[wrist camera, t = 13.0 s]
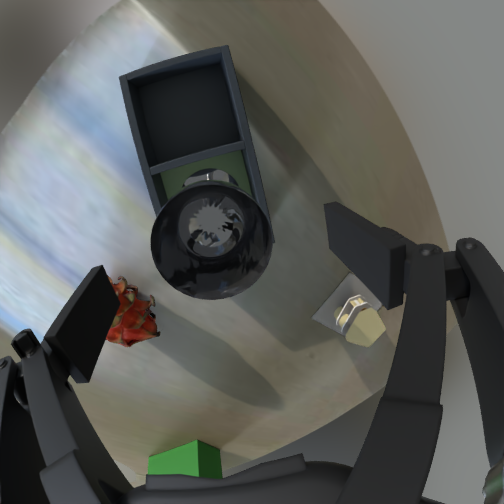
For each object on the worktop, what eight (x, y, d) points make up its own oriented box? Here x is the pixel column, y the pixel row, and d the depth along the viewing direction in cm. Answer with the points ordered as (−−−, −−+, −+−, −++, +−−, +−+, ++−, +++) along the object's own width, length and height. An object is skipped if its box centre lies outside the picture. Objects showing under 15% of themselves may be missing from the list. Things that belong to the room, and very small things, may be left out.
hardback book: (170, 466, 56) (172, 541, 34) (148, 457, 53) (146, 536, 31) (219, 449, 53) (230, 537, 32) (197, 439, 51) (203, 535, 29)
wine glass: (197, 151, 29) (186, 160, 16) (258, 186, 32) (296, 223, 18) (163, 212, 31) (132, 269, 18) (223, 243, 34) (234, 316, 20)
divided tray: (225, 58, 26) (228, 44, 22) (266, 228, 35) (275, 242, 30) (131, 85, 26) (118, 76, 21) (179, 252, 34) (175, 270, 30)
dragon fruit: (93, 260, 34) (161, 302, 40) (66, 314, 31) (137, 351, 37) (98, 258, 28) (183, 309, 33) (65, 326, 25) (154, 370, 30)
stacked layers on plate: (385, 300, 42) (403, 318, 37) (350, 339, 44) (364, 360, 39) (349, 272, 39) (367, 290, 34) (310, 317, 41) (323, 340, 36)
